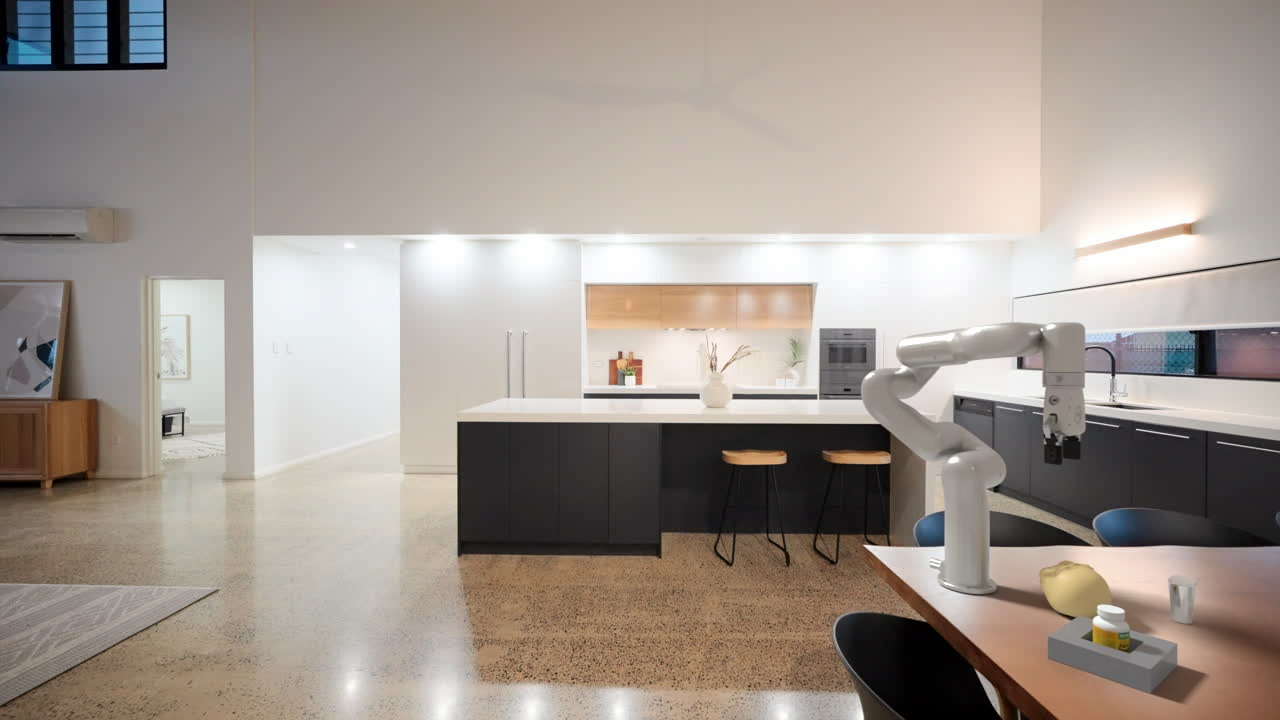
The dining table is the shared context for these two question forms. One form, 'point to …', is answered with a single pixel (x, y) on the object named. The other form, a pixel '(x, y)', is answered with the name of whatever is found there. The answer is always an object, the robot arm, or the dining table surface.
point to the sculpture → (1074, 589)
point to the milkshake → (1182, 598)
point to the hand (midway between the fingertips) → (1062, 461)
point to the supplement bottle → (1111, 628)
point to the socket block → (1114, 655)
